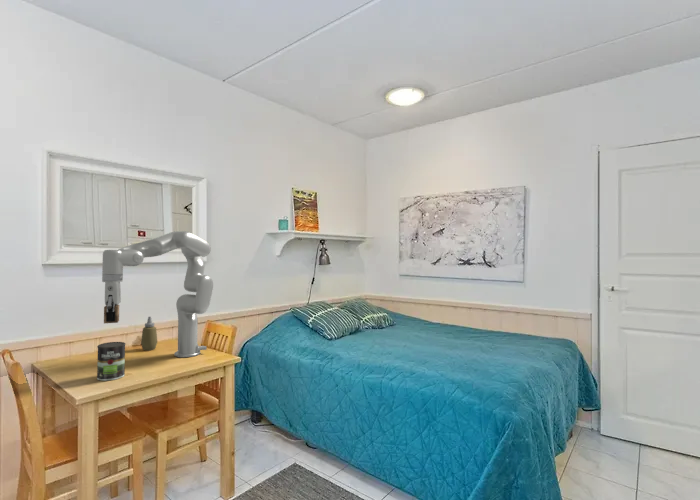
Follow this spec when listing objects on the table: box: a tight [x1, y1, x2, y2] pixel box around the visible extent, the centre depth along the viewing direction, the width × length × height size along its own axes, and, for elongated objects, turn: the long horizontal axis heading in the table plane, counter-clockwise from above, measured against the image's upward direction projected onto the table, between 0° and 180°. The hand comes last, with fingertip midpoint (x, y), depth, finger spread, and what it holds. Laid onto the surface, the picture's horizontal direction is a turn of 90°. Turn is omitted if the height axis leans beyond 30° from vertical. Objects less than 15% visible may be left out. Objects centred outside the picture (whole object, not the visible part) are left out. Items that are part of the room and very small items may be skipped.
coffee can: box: [96, 341, 126, 382], centre depth 166 cm, size 10×10×14 cm
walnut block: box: [103, 304, 120, 324], centre depth 165 cm, size 5×5×7 cm
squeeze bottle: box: [140, 316, 158, 352], centre depth 211 cm, size 8×8×18 cm
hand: (111, 319), depth 165 cm, fingers closed on walnut block, 5 cm apart
